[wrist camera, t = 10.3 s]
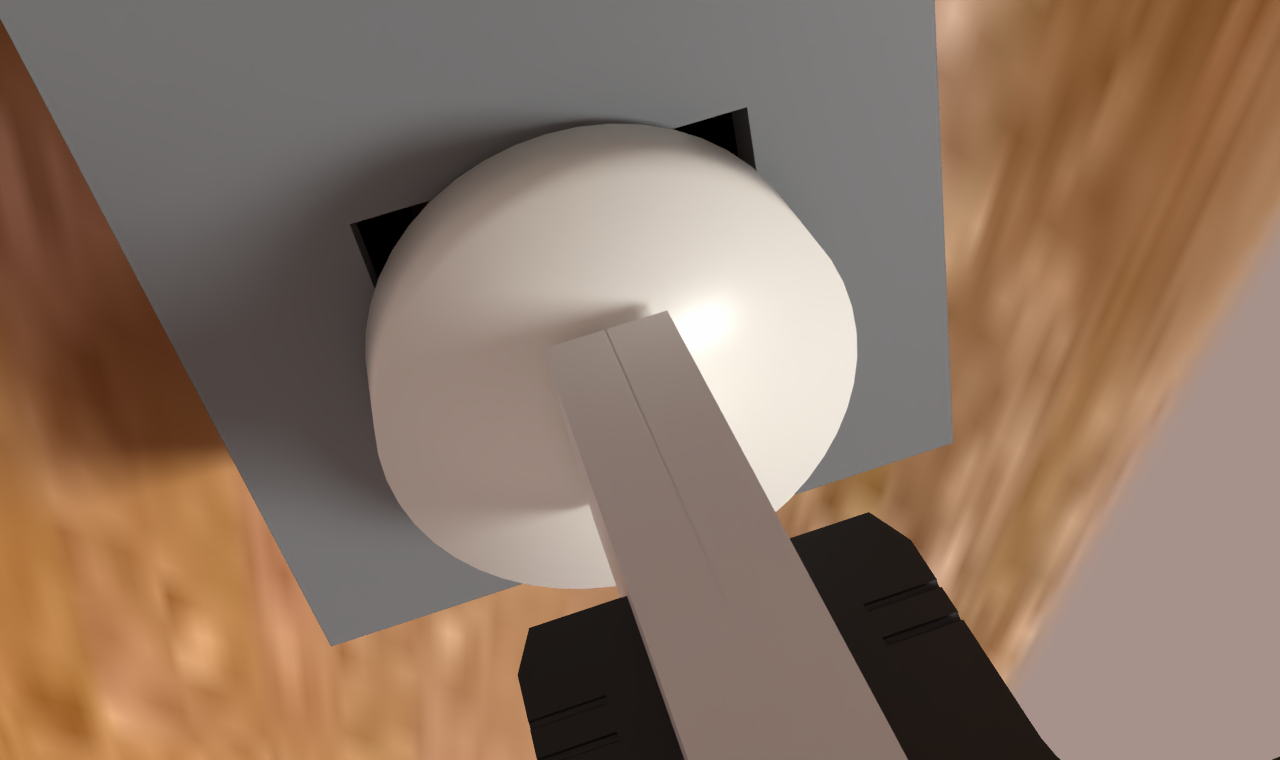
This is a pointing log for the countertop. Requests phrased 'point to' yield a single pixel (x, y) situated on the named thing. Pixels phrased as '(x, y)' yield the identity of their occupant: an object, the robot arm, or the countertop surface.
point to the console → (430, 161)
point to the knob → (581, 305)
